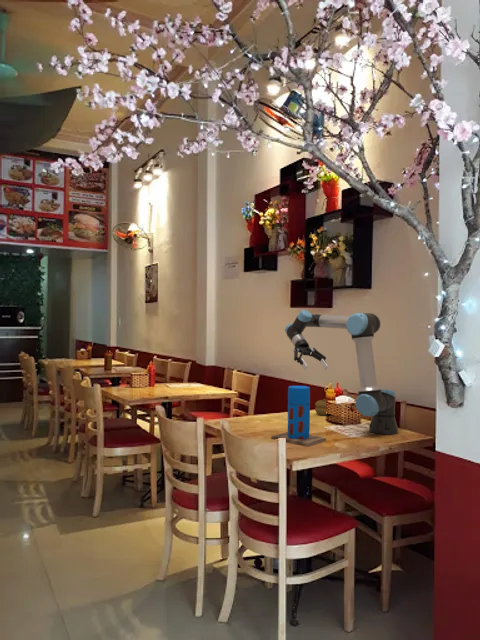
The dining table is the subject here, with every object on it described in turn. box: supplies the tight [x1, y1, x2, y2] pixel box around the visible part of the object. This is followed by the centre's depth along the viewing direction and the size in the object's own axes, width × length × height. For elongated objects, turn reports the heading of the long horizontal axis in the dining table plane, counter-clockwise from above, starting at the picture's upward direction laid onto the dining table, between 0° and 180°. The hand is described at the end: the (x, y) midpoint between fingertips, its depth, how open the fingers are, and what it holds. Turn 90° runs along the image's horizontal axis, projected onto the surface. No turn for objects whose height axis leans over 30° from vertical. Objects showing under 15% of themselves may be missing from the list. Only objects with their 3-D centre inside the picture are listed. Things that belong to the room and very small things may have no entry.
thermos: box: [287, 385, 311, 439], centre depth 261 cm, size 11×11×25 cm
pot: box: [314, 398, 327, 416], centre depth 330 cm, size 12×12×10 cm
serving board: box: [271, 431, 327, 447], centre depth 261 cm, size 22×16×2 cm
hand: (316, 368), depth 286 cm, fingers open, 13 cm apart
